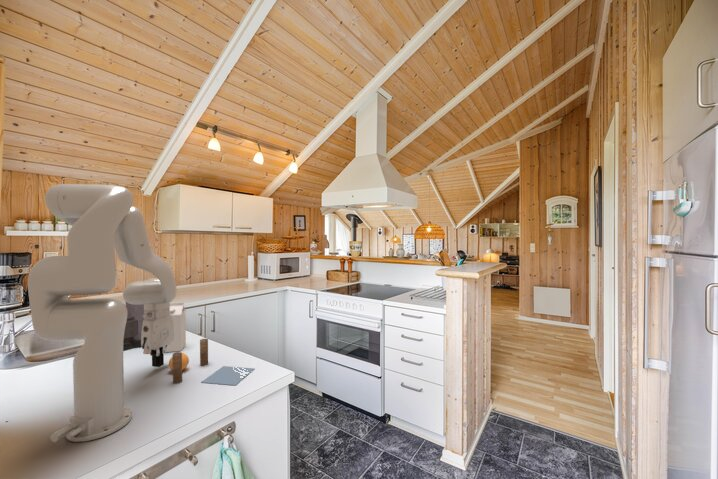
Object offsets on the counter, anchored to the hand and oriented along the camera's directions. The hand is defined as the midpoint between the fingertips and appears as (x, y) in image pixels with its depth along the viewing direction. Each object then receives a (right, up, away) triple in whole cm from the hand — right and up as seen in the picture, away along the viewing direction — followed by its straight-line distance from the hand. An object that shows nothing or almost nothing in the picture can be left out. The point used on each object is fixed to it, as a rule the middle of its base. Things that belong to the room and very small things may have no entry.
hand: (157, 365), depth 108 cm
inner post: (+12, -2, -8) cm, 15 cm away
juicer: (-27, -1, +24) cm, 36 cm away
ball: (+8, +1, -1) cm, 8 cm away
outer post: (+14, -1, +4) cm, 15 cm away
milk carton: (-6, -1, +19) cm, 20 cm away
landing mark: (+27, -2, -4) cm, 27 cm away
